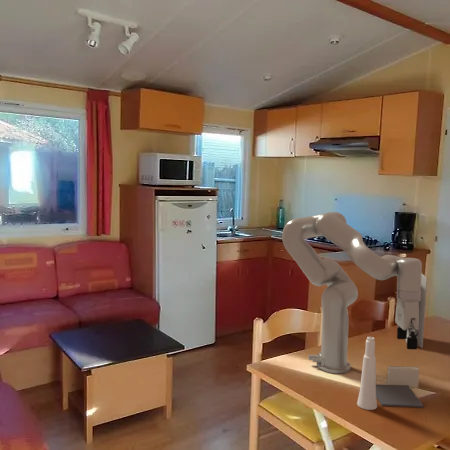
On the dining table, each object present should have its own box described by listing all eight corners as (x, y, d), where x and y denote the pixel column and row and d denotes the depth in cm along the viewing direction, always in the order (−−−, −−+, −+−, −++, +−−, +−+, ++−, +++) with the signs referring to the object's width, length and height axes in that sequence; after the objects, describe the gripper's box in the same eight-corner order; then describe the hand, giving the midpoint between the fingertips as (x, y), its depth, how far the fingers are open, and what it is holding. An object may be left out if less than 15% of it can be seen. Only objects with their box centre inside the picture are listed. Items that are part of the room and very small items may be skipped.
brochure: (422, 348, 195) (427, 278, 192) (408, 347, 196) (413, 277, 193) (415, 336, 209) (420, 271, 206) (402, 335, 210) (406, 270, 207)
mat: (381, 405, 145) (381, 404, 145) (369, 385, 159) (369, 384, 159) (423, 407, 145) (423, 405, 145) (407, 387, 159) (408, 385, 159)
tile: (388, 386, 159) (389, 368, 158) (386, 383, 161) (387, 366, 160) (418, 387, 159) (419, 369, 158) (415, 384, 161) (417, 366, 160)
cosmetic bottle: (381, 407, 145) (385, 339, 142) (368, 412, 141) (372, 342, 139) (365, 399, 150) (369, 333, 147) (353, 403, 146) (356, 336, 144)
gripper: (389, 288, 165) (387, 335, 167) (406, 301, 148) (404, 353, 149) (410, 288, 165) (408, 335, 166) (430, 301, 147) (427, 353, 149)
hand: (406, 343), depth 158 cm, fingers open, 9 cm apart
